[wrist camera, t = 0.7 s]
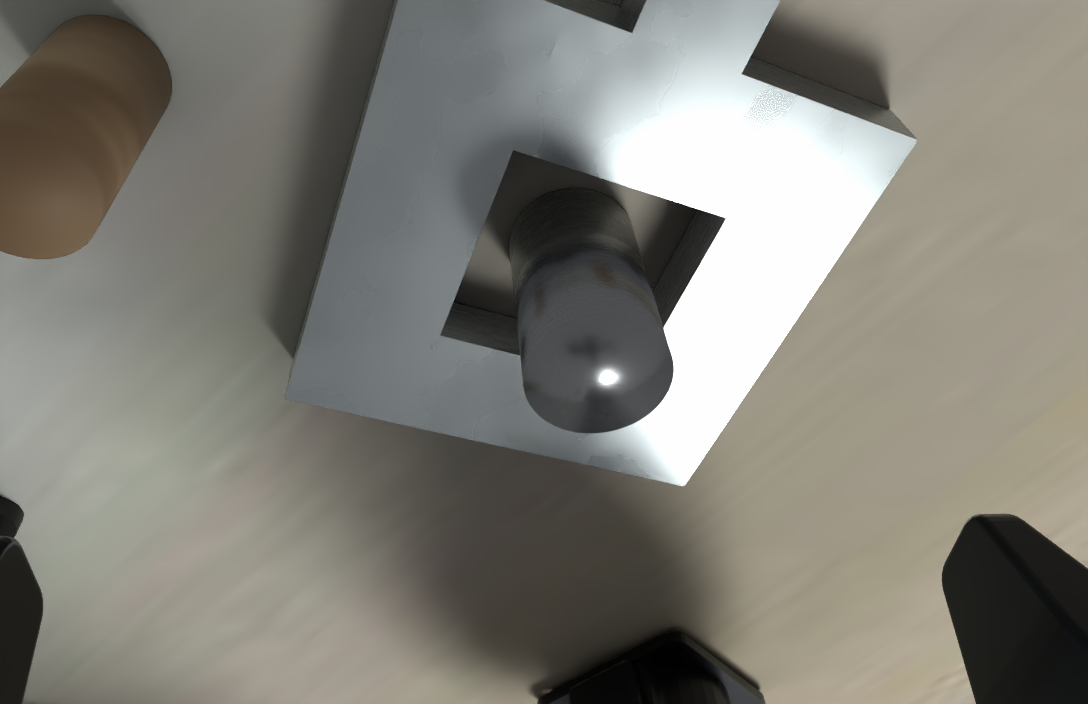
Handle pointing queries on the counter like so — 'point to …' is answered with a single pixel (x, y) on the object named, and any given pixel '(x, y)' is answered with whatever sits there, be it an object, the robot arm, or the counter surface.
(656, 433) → the flange plate
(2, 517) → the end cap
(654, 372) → the post
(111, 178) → the dowel
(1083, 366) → the counter surface
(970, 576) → the robot arm
